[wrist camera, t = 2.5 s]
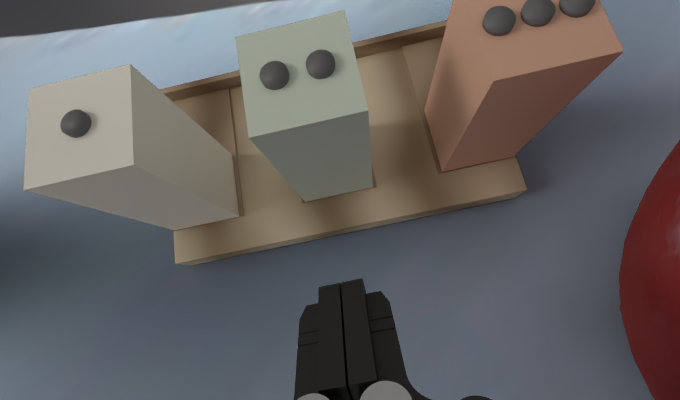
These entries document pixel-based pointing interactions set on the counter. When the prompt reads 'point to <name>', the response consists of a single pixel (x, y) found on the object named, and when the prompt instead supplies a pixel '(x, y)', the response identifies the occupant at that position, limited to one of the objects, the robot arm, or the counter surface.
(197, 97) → the board
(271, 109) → the grey green block
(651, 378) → the mixing bowl
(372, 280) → the counter surface
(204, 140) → the grey rectangular block
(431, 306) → the counter surface
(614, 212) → the counter surface
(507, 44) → the key
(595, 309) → the counter surface
